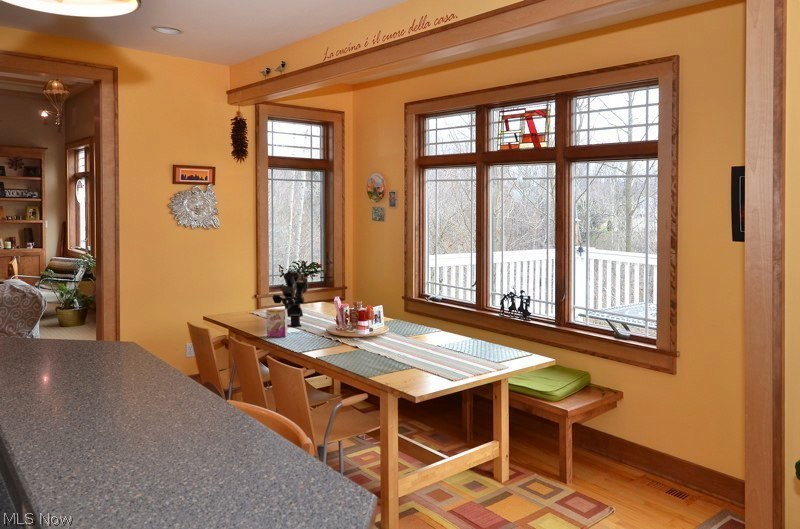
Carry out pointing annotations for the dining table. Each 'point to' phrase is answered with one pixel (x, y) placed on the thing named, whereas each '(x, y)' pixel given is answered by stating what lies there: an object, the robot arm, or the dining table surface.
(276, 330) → the candy bar box
